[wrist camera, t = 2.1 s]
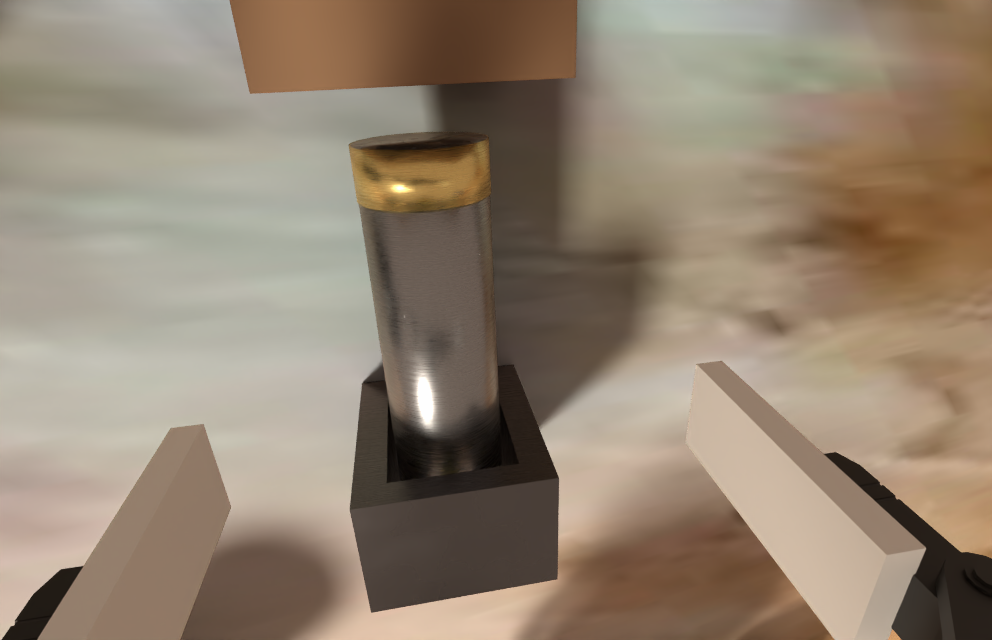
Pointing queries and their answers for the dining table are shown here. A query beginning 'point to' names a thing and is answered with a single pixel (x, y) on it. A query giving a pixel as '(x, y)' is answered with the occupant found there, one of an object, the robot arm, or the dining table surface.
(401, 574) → the sleeve
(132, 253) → the dining table surface
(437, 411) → the tube
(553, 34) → the socket
